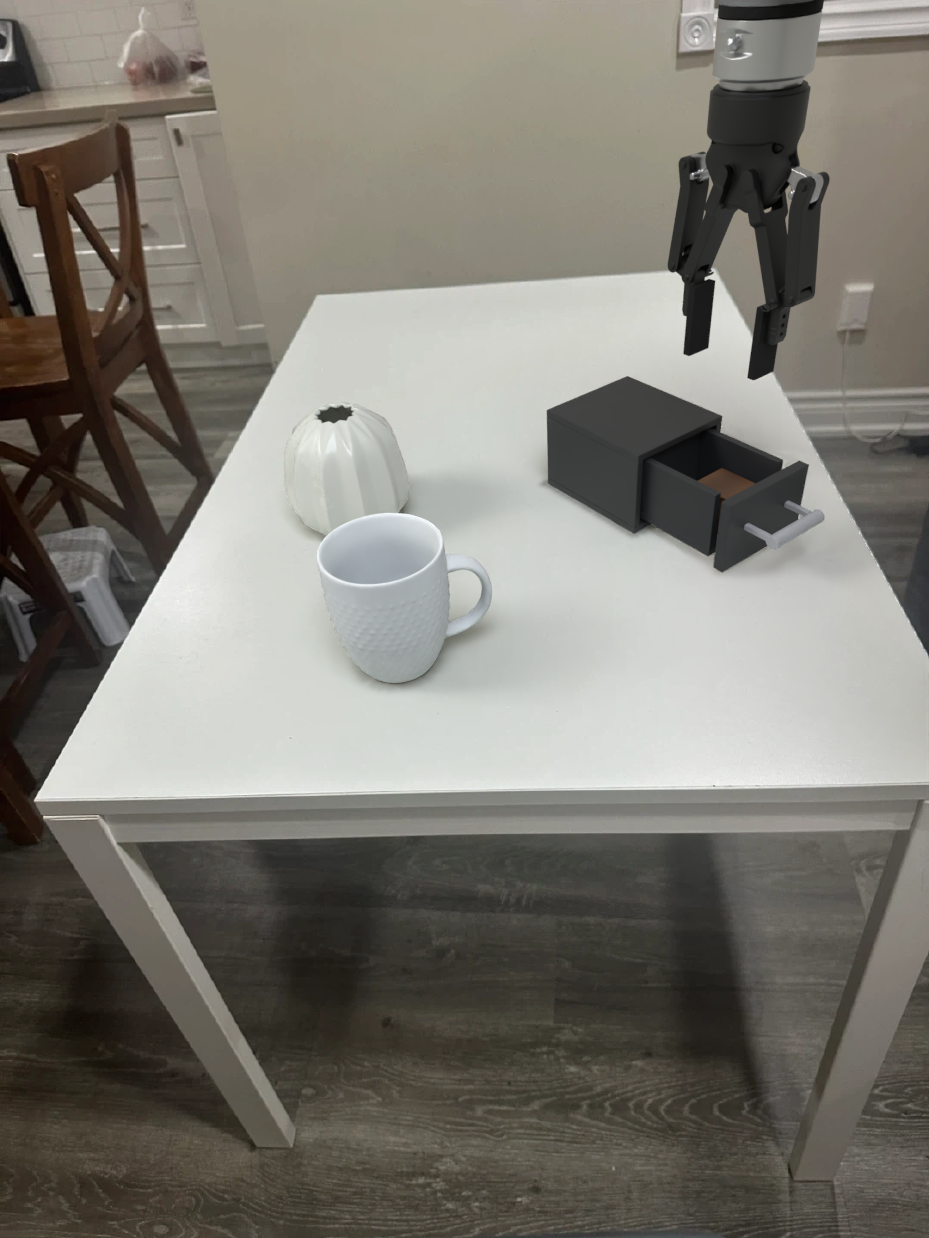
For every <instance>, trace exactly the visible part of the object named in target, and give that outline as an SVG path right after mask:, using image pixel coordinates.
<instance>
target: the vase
mask: <svg viewBox="0 0 929 1238" xmlns="http://www.w3.org/2000/svg"><path fill="white" fill-rule="evenodd" d="M399 445H400V444H399V443H398V440H397V437H396V434H395V431H394V429H393V428H392V425H391V424H390V423H389V420H387V418H385V417H384V416H383V415H380V414H378V413H377V412H375V411H374V410H371V409H369V408H366V407H364V406H362V405H360V404H356V403H350V402H345V401H343V402H342V401H341V402H338V403H327V404H325V405H323V406H320V407H317V408H315V409H313V410H312V411H310V412H309V413H308V414H307V415H305V416H304V417H303V418H302V419H301V420H300V421H299V422H298V423H297V424H296V425H295V426H294V427H293V428H292V431H291V435H290V437H289V438H288V440H287V442H286V445H285V449H284V453H283V479H284V487H285V493H286V497H287V500H288V503H289V505H290V508H291V510H292V511H293V512H294V513H295V514H297V515H298V516H299V517H300V519H301V521H302V523H303V525H304V526H306V527H308V528H310V529H312V530H314V531H316V532H317V533H320V534H322V535H324V536H325V537H326V536H327V535H328V534H329V533H330V532H331V531H333V530H334V529H336V528H337V527H339V526H341V525H343V524H345V523H347V522H349V521H351V520H354V519H357V518H360V517H364V516H368V515H373V514H379V513H400V512H401V509H402V508H404V506H405V504H406V502H407V501H408V499H409V498H410V493H411V492H410V488H411V485H410V479H409V473H408V470H407V467H406V463H405V459H404V457H403V454H402V452H401V448H400V446H399Z"/></svg>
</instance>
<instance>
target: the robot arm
mask: <svg viewBox="0 0 929 1238" xmlns="http://www.w3.org/2000/svg"><path fill="white" fill-rule="evenodd" d="M824 3H825V0H718V2H717V4H718V6H717V7H718V9H717V17H716V27H715V40H714V51H713V61H712V72H711V73H712V76H713V78H715V79H716V80H717V81H719V82H718V83H717V84H715V85H714V86H713V87H712V89H711V90H710V91H709V102H708V111H707V112H708V113H707V123H706V135H707V137H708V139H710V140H711V141H710V145H709V147H708V150H707V152H705V151H699V152H696V153H693V154H689V155H685V156H683V157H680V159H679V160H678V165H677V166H678V175H679V177H678V178H679V192H678V197H677V204H676V210H675V217H674V222H673V229H672V234H671V241H670V247H669V252H668V253H669V254H668V259H667V270H668V272H670V273H677V274H678V275H679V276H680V277H681V281H682V282H683V294H682V307H681V311H682V316H684V317H685V327H684V329H685V330H684V340H683V350H682V351H683V352H682V355H685V356H687V357H690V356H693V355H695V354H697V353H700V352H702V351H704V350H707V349H709V347H710V338H711V337H710V336H711V327H712V316H713V308H714V298H715V296H714V295H715V289H716V280H714V279H711V278H708V277H710V276H712V275H714V273H715V271H713V270H712V267H713V265H714V263H715V260H716V258H717V255H718V253H719V250H720V248H721V246H722V243H723V241H724V239H725V236H726V235H727V231H728V229H729V227H730V225H731V222H732V220H733V217H734V215H735V213H736V212H737V211H738V210H739V211H741V212H743V213H745V214H747V219H748V222H749V225H750V227H751V228H753V229H754V235H755V242H756V247H757V249H756V250H757V255H758V261H759V267H760V275H761V282H762V288H763V294H764V301H765V303H764V304H761V305H758V306H757V307H756V309H755V317H754V325H753V333H752V340H751V347H750V348H751V349H750V355H749V361H748V370H747V377H746V379H749V380H750V381H757V380H759V379H761V378H762V377H764V376H767V375H769V374H771V373H773V372H774V370H775V365H776V357H777V352H778V351H777V350H778V345H779V343H781V342H784V341H785V339H786V337H787V334H788V333H787V332H788V325H789V321H790V313H791V308H794V307H796V306H798V305H801V304H803V303H806V302H808V301H810V300H813V298H814V297H815V295H816V285H817V284H816V283H817V270H818V269H817V268H818V258H819V257H818V256H819V242H820V241H819V240H820V228H821V227H820V226H821V215H822V214H821V212H822V204H823V201H824V198H825V195H826V193H827V190H828V188H829V186H830V185H829V184H830V180H831V178H830V175H829V173H828V172H827V171H821V172H818V173H814V172H812V171H809V170H808V169H806V168H804V167H802V166H801V161H800V158H799V153H798V152H799V151H798V145H799V142H800V139H801V137H802V135H803V133H804V132H805V128H806V120H807V114H808V108H809V101H810V95H811V86H810V85H809V82H808V81H807V80H805V77H807V76H808V75H810V74H812V73H813V71H814V70H815V64H816V59H817V58H816V57H817V51H818V44H819V37H820V30H821V29H820V28H821V22H822V16H823V10H824V9H823V8H824ZM710 179H711V182H712V186H711V189H710V192H709V187H710ZM789 186H790V191H789V192H788V194H787V192H786V190H787V189H788V187H789ZM708 193H709V194H708ZM787 198H788V199H789V200H790V205H789V207H788V199H787ZM765 210H769V211H767V212H765ZM787 216H788V218H787ZM786 219H788V220H786ZM786 221H787V222H786ZM706 278H707V279H706Z"/></svg>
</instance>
